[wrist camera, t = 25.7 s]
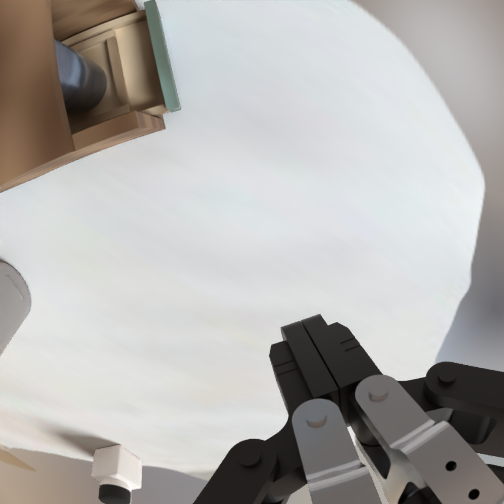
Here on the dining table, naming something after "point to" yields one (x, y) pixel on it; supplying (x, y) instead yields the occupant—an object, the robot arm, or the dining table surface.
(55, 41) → the can
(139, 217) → the dining table surface
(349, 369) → the robot arm
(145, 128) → the walnut box
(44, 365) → the dining table surface
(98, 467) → the medicine bottle
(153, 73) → the wooden drawer
